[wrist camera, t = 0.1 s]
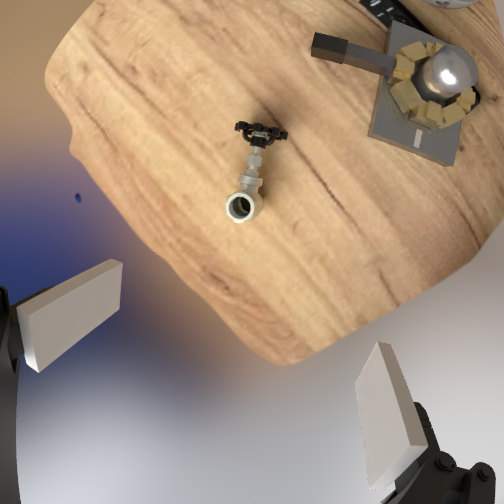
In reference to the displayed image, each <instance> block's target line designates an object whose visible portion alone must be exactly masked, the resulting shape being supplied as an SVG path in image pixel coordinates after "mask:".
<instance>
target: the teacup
mask: <svg viewBox="0 0 504 504" xmlns="http://www.w3.org/2000/svg"><path fill="white" fill-rule="evenodd" d="M424 1H426V2H427V3H429V4H432V5H434V6H437V7H441V8H445V9H460V8H464V7H467V6H469V5H471V4H473V3H475V2H477V1H479V0H424Z"/></svg>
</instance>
